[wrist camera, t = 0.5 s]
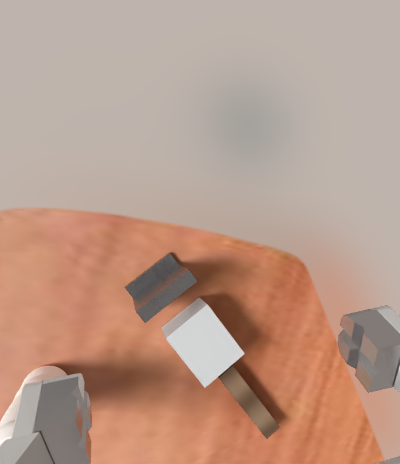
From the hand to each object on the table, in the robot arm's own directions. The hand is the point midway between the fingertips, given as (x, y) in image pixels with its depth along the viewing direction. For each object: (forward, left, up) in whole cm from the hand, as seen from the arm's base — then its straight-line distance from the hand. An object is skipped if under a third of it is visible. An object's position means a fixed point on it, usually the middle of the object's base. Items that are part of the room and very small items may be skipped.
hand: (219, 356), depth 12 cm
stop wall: (-7, 0, -51) cm, 52 cm away
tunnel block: (-18, 0, -51) cm, 54 cm away
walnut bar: (-32, 0, -51) cm, 60 cm away
